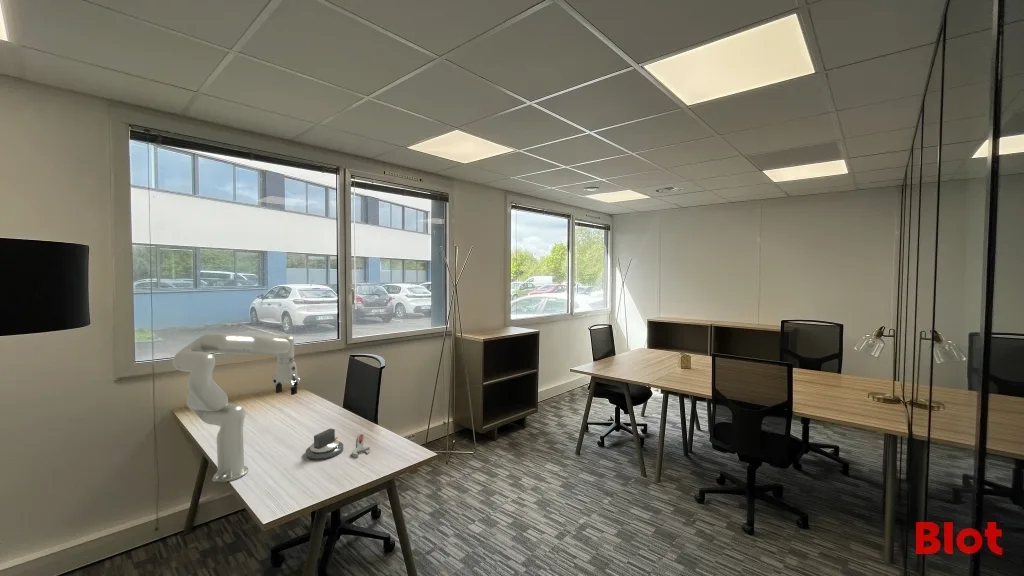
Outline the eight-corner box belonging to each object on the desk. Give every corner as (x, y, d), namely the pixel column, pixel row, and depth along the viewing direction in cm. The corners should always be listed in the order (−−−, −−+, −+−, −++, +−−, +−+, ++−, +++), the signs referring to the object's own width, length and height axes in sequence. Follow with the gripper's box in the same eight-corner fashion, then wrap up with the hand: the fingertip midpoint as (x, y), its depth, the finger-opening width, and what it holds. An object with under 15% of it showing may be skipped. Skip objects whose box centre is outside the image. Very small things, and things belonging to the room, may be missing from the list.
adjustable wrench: (374, 435, 218) (374, 432, 218) (368, 457, 193) (368, 452, 193) (358, 437, 216) (358, 433, 216) (350, 459, 191) (350, 454, 191)
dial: (323, 455, 189) (323, 439, 188) (304, 450, 194) (303, 435, 193) (347, 442, 202) (346, 428, 202) (327, 438, 207) (327, 424, 207)
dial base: (336, 459, 190) (336, 454, 190) (299, 461, 188) (299, 456, 188) (347, 443, 207) (347, 439, 207) (314, 445, 205) (313, 440, 205)
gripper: (305, 359, 204) (305, 392, 205) (278, 357, 209) (279, 389, 210) (293, 363, 197) (293, 397, 197) (266, 360, 202) (267, 393, 202)
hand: (286, 393), depth 204 cm, fingers open, 9 cm apart
